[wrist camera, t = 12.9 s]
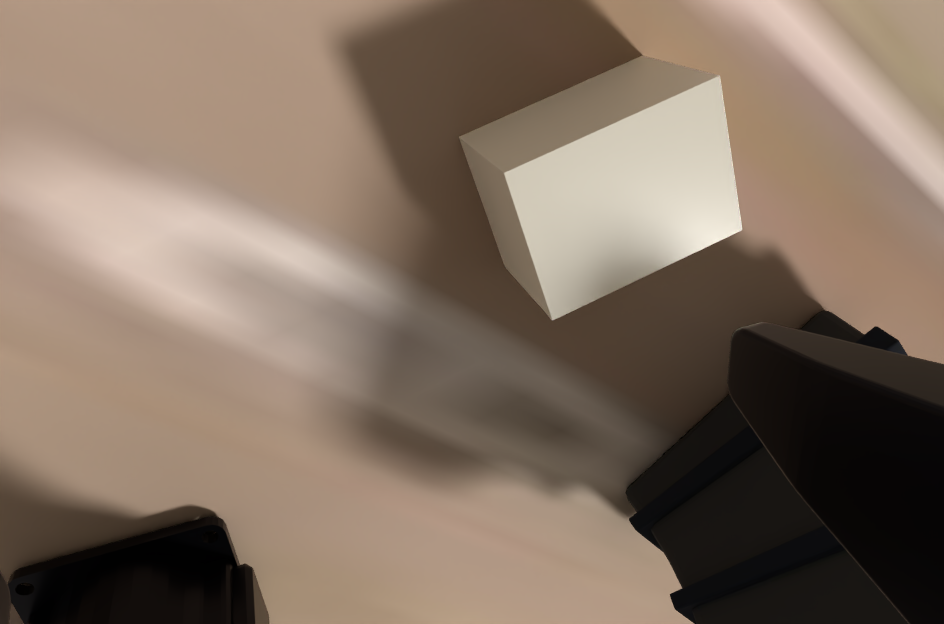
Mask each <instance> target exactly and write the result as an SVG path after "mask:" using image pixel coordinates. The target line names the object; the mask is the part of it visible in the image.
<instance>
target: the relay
mask: <svg viewBox="0 0 944 624" xmlns="http://www.w3.org/2000/svg"><path fill="white" fill-rule="evenodd" d="M459 139H460V142H461V145H462V148H463V151H464V153H465V156H466V159H467V162H468V165H469V167H470V170H471V173H472V176H473V179H474V182H475V184H476V187H477V190H478V193H479V196H480V198H481V201H482V204H483V207H484V210H485V213H486V215H487V218H488V221H489V224H490V227H491V229H492V232H493V235H494V238H495V241H496V243H497V246H498V249H499V252H500V255H501V258H502V260H503V263H504V266H505V268H506V269H507V270H508V271H509V272H510V273H511V275H512V276H513V277H514V278H515V279H516V280H517V281H518V282H519V284H520V285H521V286H522V287H523V288H524V289H525V290H526V291H527V293H528V294H529V295H530V296H531V297H532V298H533V299H534V300H535V302H536V303H537V304H538V305H539V306H540V307H541V308H542V309H543V311H544V312H545V313H546V314H547V315H548V316H549V317H550V318H551V320H552V321H553V320H555V319H557V318H559V317H561V316H563V315H566V314H568V313H570V312H572V311H574V310H576V309H578V308H580V307H582V306H584V305H587V304H589V303H591V302H593V301H595V300H597V299H599V298H601V297H603V296H605V295H607V294H610V293H612V292H614V291H616V290H618V289H620V288H622V287H624V286H626V285H628V284H630V283H633V282H635V281H637V280H639V279H641V278H643V277H645V276H647V275H649V274H651V273H653V272H656V271H658V270H660V269H662V268H664V267H666V266H668V265H670V264H672V263H674V262H676V261H679V260H681V259H683V258H685V257H687V256H689V255H691V254H693V253H695V252H697V251H699V250H702V249H704V248H706V247H708V246H710V245H712V244H714V243H716V242H718V241H720V240H722V239H725V238H727V237H729V236H731V235H733V234H735V233H737V232H739V231H741V230H742V224H741V217H740V210H739V203H738V197H737V190H736V183H735V176H734V169H733V162H732V155H731V149H730V142H729V135H728V128H727V121H726V114H725V108H724V101H723V94H722V87H721V80H720V75H716V74H712V73H708V72H704V71H701V70H697V69H693V68H689V67H685V66H682V65H678V64H674V63H670V62H666V61H662V60H659V59H655V58H651V57H647V56H643V55H642V56H640V57H638V58H635V59H633V60H631V61H629V62H626V63H624V64H622V65H620V66H617V67H615V68H613V69H611V70H608V71H606V72H604V73H602V74H599V75H597V76H595V77H593V78H590V79H588V80H586V81H583V82H581V83H579V84H577V85H574V86H572V87H570V88H568V89H565V90H563V91H561V92H559V93H556V94H554V95H552V96H550V97H547V98H545V99H543V100H541V101H538V102H536V103H534V104H532V105H529V106H527V107H525V108H522V109H520V110H518V111H516V112H513V113H511V114H509V115H507V116H504V117H502V118H500V119H498V120H495V121H493V122H491V123H489V124H486V125H484V126H482V127H480V128H477V129H475V130H473V131H471V132H468V133H466V134H464V135H461V136H459Z"/></svg>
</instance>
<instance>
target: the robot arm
mask: <svg viewBox="0 0 944 624" xmlns="http://www.w3.org/2000/svg"><path fill="white" fill-rule="evenodd" d="M727 384H728V390H729V393H730V396H731V398H732V400H733V401H734V403H735V404H736V406H737V407H738V409H739V410H740V412H741V413H742V414H743V416H744V417H745V419H746V420H747V422H748V423H749V425H750V426H751V428H752V429H753V430H754V432H755V433H756V435H757V436H758V438H759V439H760V441H761V442H762V443H763V445H764V446H765V448H766V449H767V451H768V452H769V454H770V455H771V456H772V458H773V459H774V461H775V462H776V464H777V465H778V467H779V468H780V470H781V471H782V472H783V474H784V475H785V477H786V478H787V479H788V481H789V482H790V483H791V485H792V486H793V487H794V489H795V490H796V491H797V493H798V494H799V495H800V496H801V498H802V499H803V500H804V501H805V502H806V504H807V505H808V506H809V507H810V508H811V510H812V511H813V512H814V513H815V514H816V515H817V517H818V518H819V519H820V520H821V521H822V522H823V524H824V525H825V526H826V527H827V528H828V530H829V531H830V532H831V533H832V534H833V535H834V537H835V538H836V539H837V540H838V541H839V542H840V544H841V545H842V546H843V547H844V548H845V549H846V551H847V552H848V553H849V554H850V555H851V556H852V558H853V559H854V560H855V561H856V562H857V564H858V565H859V566H860V567H861V568H862V569H863V571H864V572H865V573H866V574H867V575H868V576H869V578H870V579H871V580H872V581H873V582H874V583H875V585H876V586H877V587H878V588H879V589H880V590H881V592H882V593H883V594H884V595H885V596H886V598H887V599H888V600H889V601H890V602H891V603H892V605H893V606H894V607H895V608H896V609H897V610H898V612H899V613H900V614H901V615H902V616H903V617H904V619H905V620H906V621H907V622H908V623H909V624H944V364H941V363H936V362H932V361H928V360H924V359H920V358H915V357H911V356H907V355H903V354H899V353H894V352H890V351H886V350H882V349H877V348H873V347H869V346H865V345H861V344H856V343H852V342H848V341H844V340H840V339H835V338H831V337H827V336H823V335H818V334H814V333H810V332H806V331H802V330H797V329H793V328H789V327H785V326H781V325H776V324H772V323H767V322H760V323H757V324H753V325H749V326H745V327H741V328H738V329H737V330H736V331H735V332H734V333H733V335H732V337H731V344H730V355H729V366H728V378H727ZM207 531H215V532H216V533H214V534H209V535H208V534H205V532H207ZM21 583H30V584H32V585H28V586H25V585H22V584H21ZM11 602H12V604H13V605H14V607H15V609H16V611H17V612H18V614H19V616H20V617H21V619H22V621H23V623H24V624H269V615H268V611H267V608H266V605H265V602H264V599H263V597H262V594H261V591H260V588H259V585H258V582H257V579H256V576H255V573H254V570H253V568H252V567H250V566H249V565H247V564H243V565H240V563H239V561H238V558H237V555H236V552H235V549H234V546H233V543H232V540H231V538H230V535H229V532H228V529H227V526H226V524H225V522H224V521H223V520H222V519H220V518H219V517H213V516H211V517H205V518H201V519H198V520H194V521H190V522H187V523H183V524H179V525H176V526H172V527H168V528H165V529H161V530H158V531H154V532H150V533H147V534H143V535H139V536H136V537H132V538H129V539H125V540H121V541H118V542H114V543H110V544H107V545H103V546H100V547H96V548H92V549H89V550H85V551H81V552H78V553H74V554H70V555H67V556H63V557H60V558H56V559H52V560H49V561H45V562H41V563H38V564H34V565H31V566H27V567H23V568H20V569H18V570H16V571H14V572H13V573H12V574H11V576H10V578H9V581H8V584H7V582H6V580H5V578H4V576H3V575H2V573H1V571H0V624H9V617H10V606H11Z"/></svg>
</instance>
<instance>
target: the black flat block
mask: <svg viewBox="0 0 944 624" xmlns="http://www.w3.org/2000/svg"><path fill="white" fill-rule="evenodd" d="M800 330H802V331H806V332H810V333H814V334H818V335H823V336H827V337H831V338H835V339H840V340H844V341H848V342H852V343H856V344H861V345H865V346H869V347H873V348H877V349H882V350H886V351H890V352H894V353H899V354H903V355H907V353H906V352H905V350H904V349H903V347H902V345H901V344H900V342H899V340H897V339H896V338H894V337H893V336H891V335H889V334H888V333H886V332H885V331H883V330H882V329H880V328H879V327H874V328H873V329H871V330H870V331H869V332H867V333H866V334H865V335H864V334H863V333H861V332H860V331H858V330H857V329H855V328H854V327H852V326H851V325H849V324H848V323H846V322H845V321H843V320H842V319H840V318H839V317H837V316H836V315H835V314H833V313H831V312H829V311H825V310H823V311H821V312H819V313H818V314H817V315H816V316H815V317H814V318H812V319H811V320H810V321H809V322H808V323H807V324H806V325H805V326H804V327H803V328H802V329H800ZM907 356H908V355H907ZM626 495H627V498H628V501H629V502H630V503H631V505H632V506H633V507H634V509H635V510H636V511H637V513H636V514H634V515H633V516H632V517H631V518H630V519H629V521H630V523H631V524H632V525H633V527H634V528H635V530H636V531H637V532H639V533H640V534H641V535H642V536H644V537H645V538H646V539H647V540H649V541H650V542H651V543H652V544H654V545H655V546H656V547H657V548H659V549H660V550H661V551H663V552H664V554H665V555H666V557H667V559H668V560H669V562H670V564H671V566H672V568H673V570H674V572H675V574H676V576H677V578H678V580H679V582H680V584H681V586H682V588H683V589H680V590H678V591H676V592H674V593H671V594H670V597H671V600H672V603H673V605H674V608H675V610H677V611H678V612H679V613H681V614H682V615H683V616H685V617H686V618H688V619H689V620H690V621H692V622H693V623H694V624H909V623H908V622H907V621H906V620H905V619H904V617H903V616H902V615H901V614H900V613H899V612H898V610H897V609H896V608H895V607H894V606H893V605H892V603H891V602H890V601H889V600H888V599H887V598H886V596H885V595H884V594H883V593H882V592H881V590H880V589H879V588H878V587H877V586H876V585H875V583H874V582H873V581H872V580H871V579H870V578H869V576H868V575H867V574H866V573H865V572H864V571H863V569H862V568H861V567H860V566H859V565H858V564H857V562H856V561H855V560H854V559H853V558H852V556H851V555H850V554H849V553H848V552H847V551H846V549H845V548H844V547H843V546H842V545H841V544H840V542H839V541H838V540H837V539H836V538H835V537H834V535H833V534H832V533H831V532H830V531H829V530H828V528H827V527H826V526H825V525H824V524H823V522H822V521H821V520H820V519H819V518H818V517H817V515H816V514H815V513H814V512H813V511H812V510H811V508H810V507H809V506H808V505H807V504H806V502H805V501H804V500H803V499H802V498H801V496H800V495H799V494H798V493H797V491H796V490H795V489H794V487H793V486H792V485H791V483H790V482H789V481H788V479H787V478H786V477H785V475H784V474H783V472H782V471H781V470H780V468H779V467H778V465H777V464H776V462H775V461H774V459H773V458H772V456H771V455H770V454H769V452H768V451H767V449H766V448H765V446H764V445H763V443H762V442H761V441H760V439H759V438H758V436H757V435H756V433H755V432H754V430H753V429H752V428H751V426H750V425H749V423H748V422H747V420H746V419H745V417H744V416H743V414H742V413H741V412H740V410H739V409H738V407H737V406H736V404H735V403H734V401H733V400H732V398H731V396H730V395H729V396H727V397H726V398H725V399H724V400H723V401H722V402H721V403H720V404H719V405H718V406H717V407H715V408H714V409H713V410H712V411H711V412H710V413H709V414H708V415H707V416H706V417H705V418H703V419H702V420H701V421H700V422H699V423H698V424H697V425H696V426H695V427H694V428H693V429H692V430H690V431H689V432H688V433H687V434H686V435H685V436H684V437H683V438H682V439H681V440H680V441H678V442H677V443H676V444H675V445H674V446H673V447H672V448H671V449H670V450H669V451H668V452H666V453H665V454H664V455H663V456H662V457H661V458H660V459H659V460H658V461H657V462H656V463H654V464H653V465H652V466H651V467H650V468H649V469H648V470H647V471H646V472H645V473H644V474H642V475H641V476H640V477H639V478H638V479H637V480H636V481H635V482H634V483H633V484H632V485H630V486H629V487H628V489H627V491H626Z"/></svg>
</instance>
